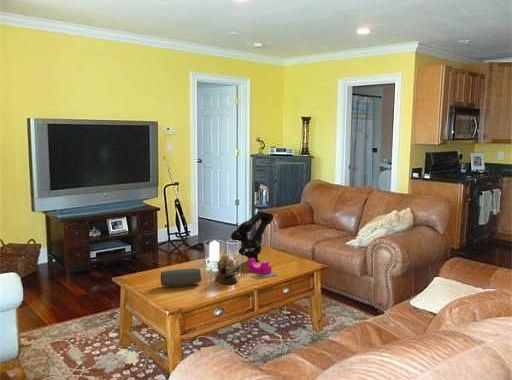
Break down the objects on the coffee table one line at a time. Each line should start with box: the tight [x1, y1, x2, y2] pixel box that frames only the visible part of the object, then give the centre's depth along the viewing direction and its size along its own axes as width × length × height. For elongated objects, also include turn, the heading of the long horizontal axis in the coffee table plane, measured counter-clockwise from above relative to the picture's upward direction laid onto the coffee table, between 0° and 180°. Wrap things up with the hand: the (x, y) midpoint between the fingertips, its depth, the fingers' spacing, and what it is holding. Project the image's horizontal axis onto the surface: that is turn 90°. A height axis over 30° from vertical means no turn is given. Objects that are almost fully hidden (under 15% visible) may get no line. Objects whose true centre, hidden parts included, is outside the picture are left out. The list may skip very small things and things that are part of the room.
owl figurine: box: [215, 254, 238, 286], centre depth 276 cm, size 18×12×17 cm, turn 35°
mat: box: [251, 271, 279, 280], centre depth 288 cm, size 7×16×1 cm, turn 120°
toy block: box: [248, 258, 272, 275], centre depth 296 cm, size 15×6×8 cm, turn 43°
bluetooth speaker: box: [160, 268, 202, 288], centre depth 266 cm, size 23×9×10 cm, turn 110°
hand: (252, 261), depth 302 cm, fingers closed
